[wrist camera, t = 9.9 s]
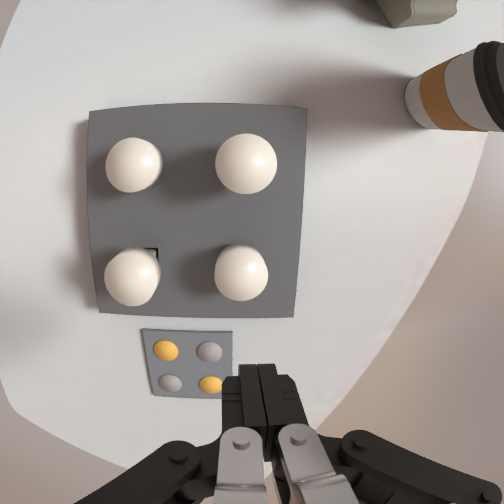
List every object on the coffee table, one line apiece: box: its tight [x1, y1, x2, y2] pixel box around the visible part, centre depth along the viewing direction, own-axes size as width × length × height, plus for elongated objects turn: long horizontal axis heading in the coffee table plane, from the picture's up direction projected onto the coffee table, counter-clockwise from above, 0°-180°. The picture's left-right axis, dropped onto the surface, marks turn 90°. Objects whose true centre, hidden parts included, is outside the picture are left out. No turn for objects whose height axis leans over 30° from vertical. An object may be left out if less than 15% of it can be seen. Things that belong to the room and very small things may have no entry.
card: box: [143, 329, 232, 399], centre depth 33 cm, size 10×10×1 cm
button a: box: [105, 138, 163, 193], centre depth 24 cm, size 4×4×5 cm
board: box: [87, 103, 307, 318], centre depth 27 cm, size 20×20×2 cm
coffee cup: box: [405, 41, 504, 132], centre depth 20 cm, size 8×8×15 cm
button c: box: [215, 134, 277, 194], centre depth 23 cm, size 4×4×5 cm
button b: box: [104, 247, 161, 306], centre depth 25 cm, size 4×4×5 cm
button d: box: [214, 243, 268, 301], centre depth 27 cm, size 4×4×5 cm
